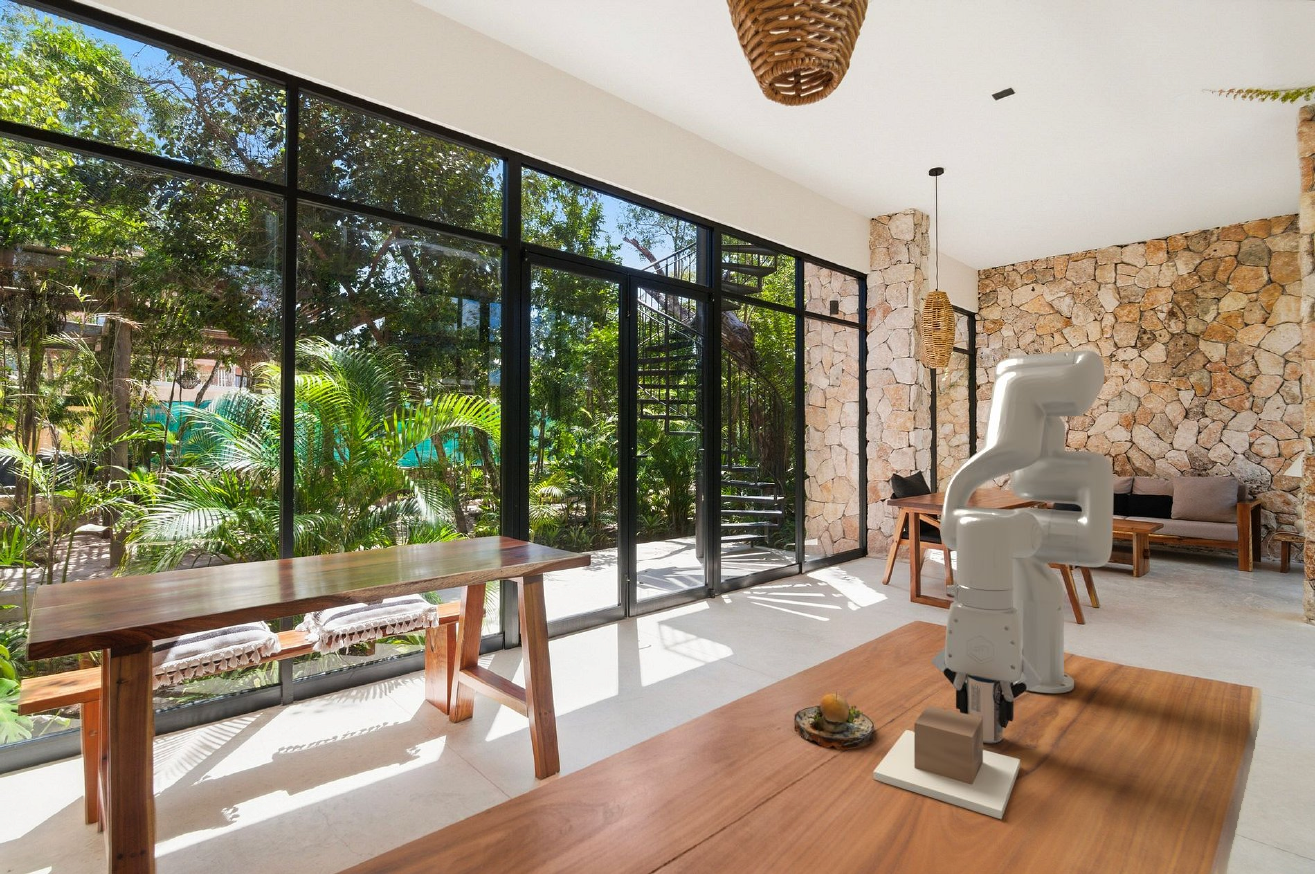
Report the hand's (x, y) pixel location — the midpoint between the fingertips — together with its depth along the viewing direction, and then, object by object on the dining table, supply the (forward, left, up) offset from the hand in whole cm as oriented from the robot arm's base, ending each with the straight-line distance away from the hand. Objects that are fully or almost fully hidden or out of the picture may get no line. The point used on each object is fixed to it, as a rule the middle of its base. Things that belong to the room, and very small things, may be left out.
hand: (984, 718), depth 96 cm
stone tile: (+14, -2, -3) cm, 14 cm away
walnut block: (+14, -2, -2) cm, 14 cm away
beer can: (0, 0, -3) cm, 3 cm away
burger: (+11, -19, -3) cm, 22 cm away
